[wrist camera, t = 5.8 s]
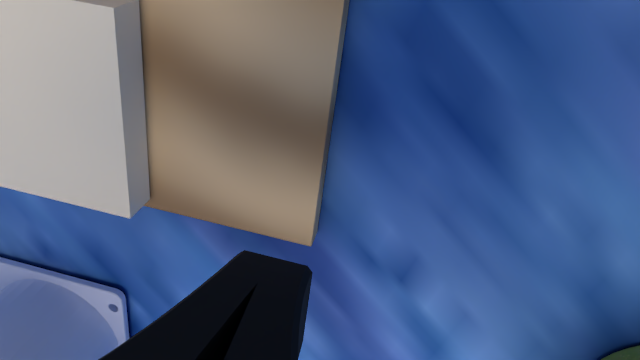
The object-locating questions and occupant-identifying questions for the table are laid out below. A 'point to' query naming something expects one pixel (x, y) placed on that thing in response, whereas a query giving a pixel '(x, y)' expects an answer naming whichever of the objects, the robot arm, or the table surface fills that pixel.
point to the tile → (74, 103)
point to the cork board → (241, 109)
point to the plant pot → (625, 354)
